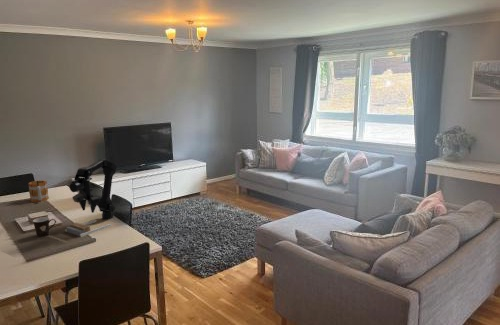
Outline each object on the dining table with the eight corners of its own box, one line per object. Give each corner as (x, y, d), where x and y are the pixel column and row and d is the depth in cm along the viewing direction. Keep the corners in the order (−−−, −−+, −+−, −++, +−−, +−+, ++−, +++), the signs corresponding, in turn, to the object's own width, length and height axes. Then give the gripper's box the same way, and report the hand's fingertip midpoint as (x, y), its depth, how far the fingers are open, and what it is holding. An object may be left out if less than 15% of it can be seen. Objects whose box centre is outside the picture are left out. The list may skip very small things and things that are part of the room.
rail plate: (95, 222, 250) (94, 217, 249) (111, 227, 240) (111, 221, 240) (65, 233, 233) (64, 226, 232) (82, 238, 223) (81, 232, 222)
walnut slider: (77, 228, 237) (76, 222, 237) (90, 232, 230) (89, 226, 229) (71, 230, 234) (70, 224, 233) (84, 234, 226) (83, 228, 226)
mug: (29, 199, 309) (27, 181, 306) (48, 196, 316) (46, 179, 313) (31, 205, 293) (28, 186, 290) (50, 202, 300) (48, 184, 297)
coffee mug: (33, 238, 225) (31, 222, 223) (37, 233, 233) (35, 218, 231) (54, 236, 228) (52, 220, 226) (57, 231, 236) (55, 216, 234)
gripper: (64, 189, 232) (67, 212, 235) (82, 193, 222) (85, 217, 225) (81, 185, 241) (83, 207, 244) (99, 188, 231) (101, 212, 234)
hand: (88, 211), depth 237 cm, fingers open, 9 cm apart
